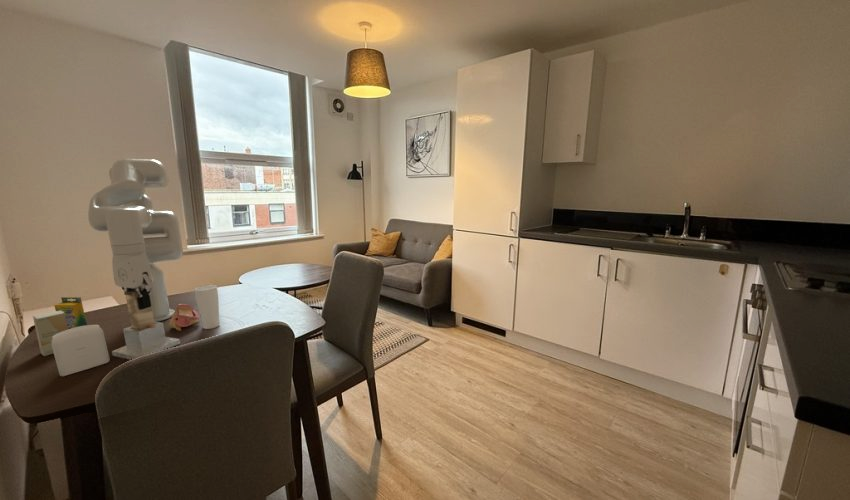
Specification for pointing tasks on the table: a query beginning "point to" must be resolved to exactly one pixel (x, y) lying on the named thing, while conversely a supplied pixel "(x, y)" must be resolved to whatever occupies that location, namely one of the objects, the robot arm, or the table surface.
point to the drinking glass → (208, 305)
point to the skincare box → (49, 329)
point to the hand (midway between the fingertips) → (139, 306)
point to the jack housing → (144, 341)
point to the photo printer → (79, 349)
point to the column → (138, 312)
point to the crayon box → (72, 312)
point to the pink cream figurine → (184, 316)
